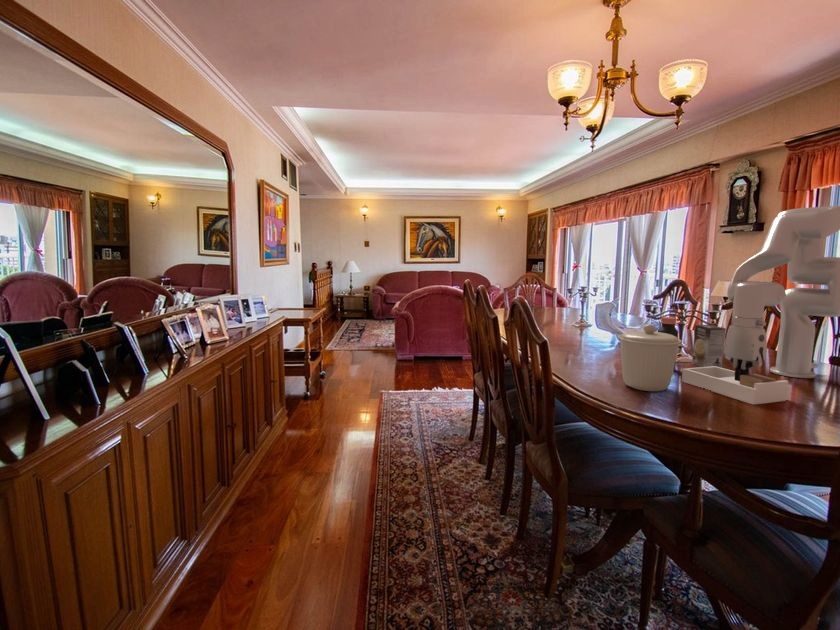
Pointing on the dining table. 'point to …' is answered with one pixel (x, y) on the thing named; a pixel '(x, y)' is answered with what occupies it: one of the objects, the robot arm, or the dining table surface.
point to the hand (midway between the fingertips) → (740, 380)
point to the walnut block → (754, 379)
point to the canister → (648, 358)
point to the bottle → (669, 327)
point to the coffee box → (708, 345)
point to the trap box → (736, 385)
